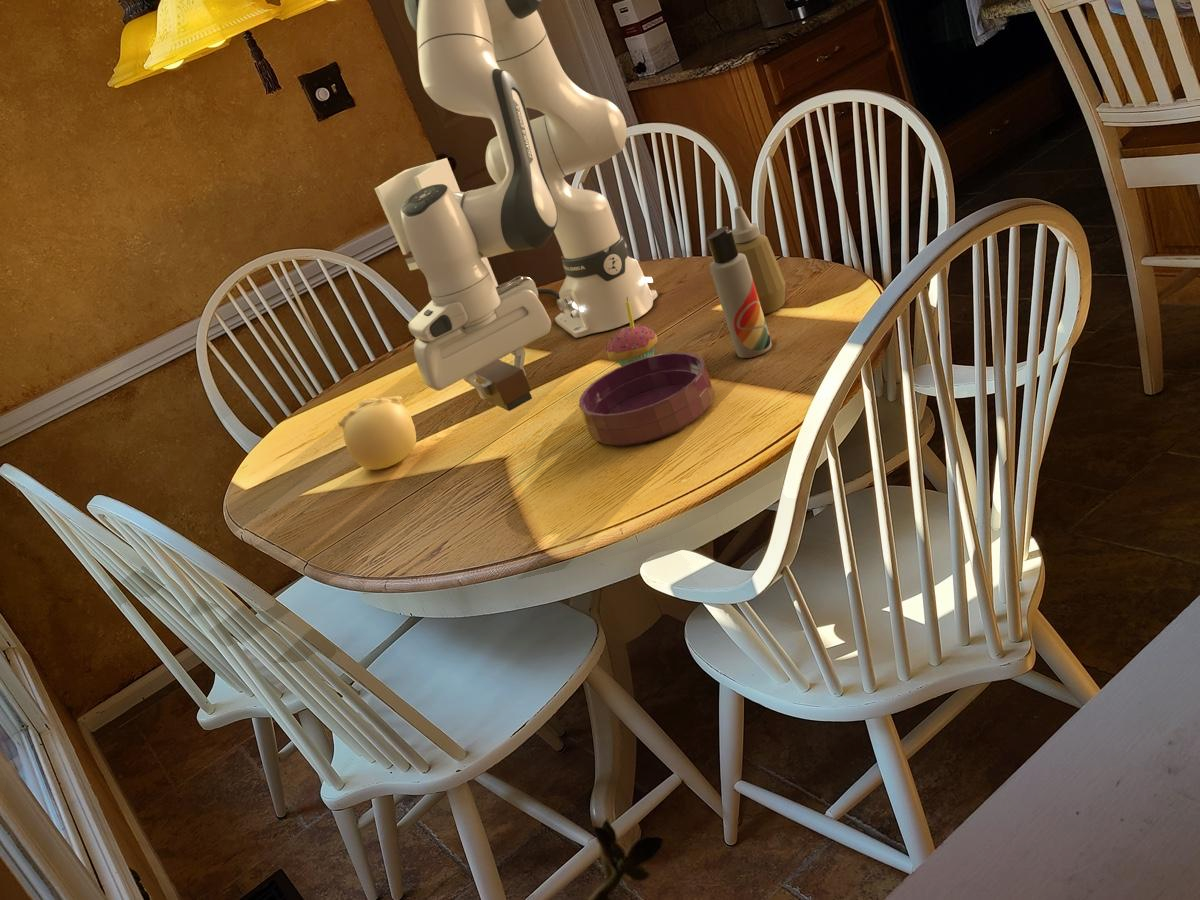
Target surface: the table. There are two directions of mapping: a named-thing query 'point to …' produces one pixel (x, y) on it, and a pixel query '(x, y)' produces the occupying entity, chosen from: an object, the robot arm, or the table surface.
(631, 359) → the cupcake
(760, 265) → the squeeze bottle
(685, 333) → the table surface
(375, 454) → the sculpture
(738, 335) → the lotion bottle
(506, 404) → the dark chocolate square
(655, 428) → the bowl
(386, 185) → the cream shelf stand
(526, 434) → the table surface
